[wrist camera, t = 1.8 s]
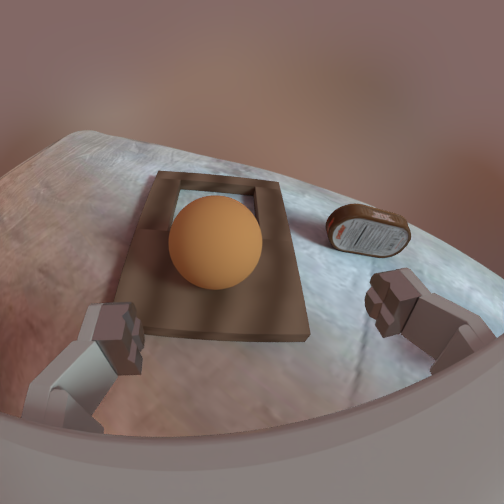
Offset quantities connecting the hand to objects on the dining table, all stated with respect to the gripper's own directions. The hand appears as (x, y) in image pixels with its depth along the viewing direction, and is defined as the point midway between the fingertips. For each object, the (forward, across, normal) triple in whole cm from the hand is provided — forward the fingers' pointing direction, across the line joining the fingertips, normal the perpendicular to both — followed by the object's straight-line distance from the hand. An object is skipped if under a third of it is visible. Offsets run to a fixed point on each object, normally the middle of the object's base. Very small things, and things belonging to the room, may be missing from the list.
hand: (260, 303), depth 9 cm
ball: (+19, +1, +9) cm, 21 cm away
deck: (+27, +1, +14) cm, 30 cm away
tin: (+27, -22, +18) cm, 39 cm away
